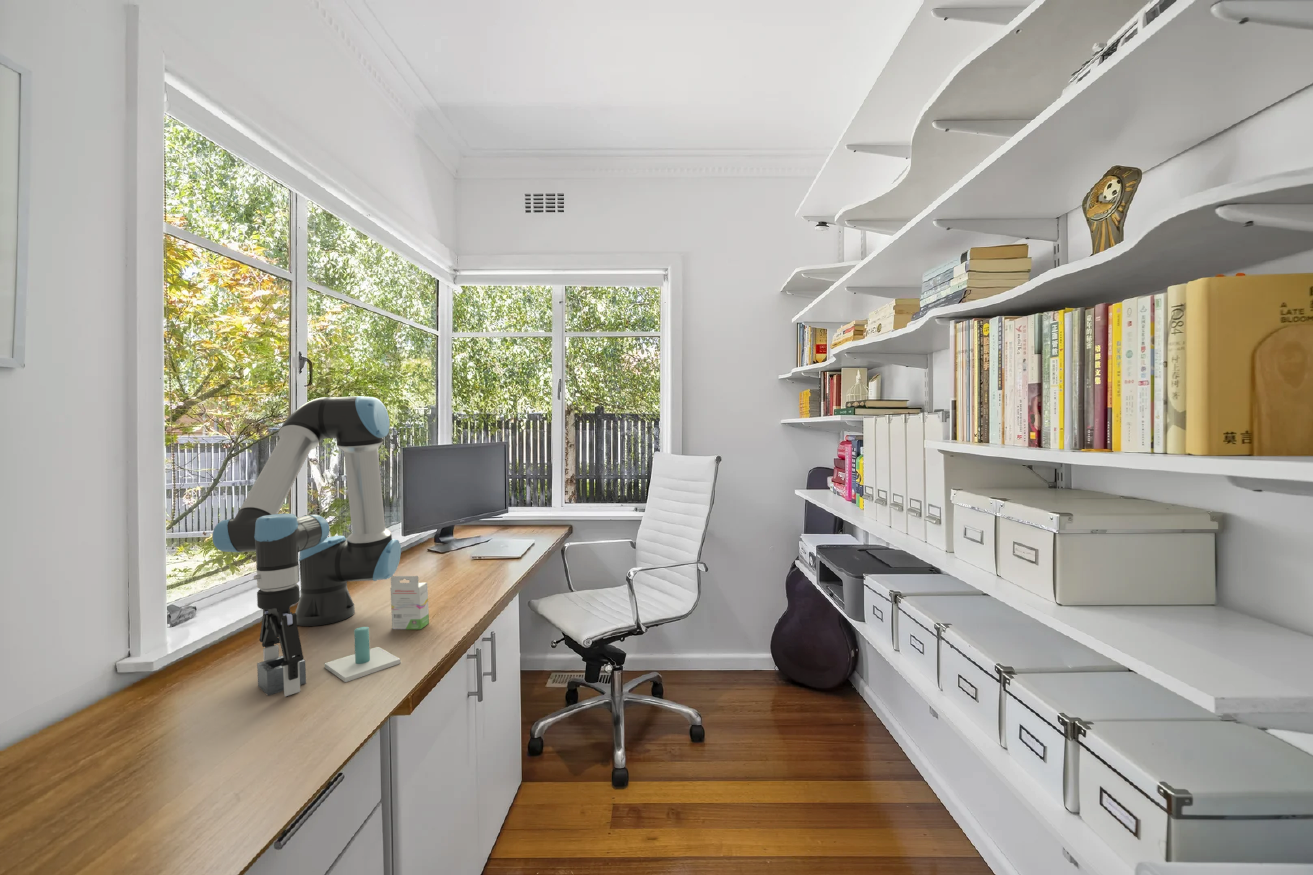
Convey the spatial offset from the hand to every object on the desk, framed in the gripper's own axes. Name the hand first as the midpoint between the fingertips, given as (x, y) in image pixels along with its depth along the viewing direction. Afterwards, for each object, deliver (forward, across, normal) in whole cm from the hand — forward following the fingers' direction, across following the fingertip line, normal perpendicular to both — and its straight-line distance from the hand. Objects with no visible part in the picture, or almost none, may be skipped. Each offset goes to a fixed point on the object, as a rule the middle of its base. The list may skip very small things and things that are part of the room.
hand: (281, 684), depth 119 cm
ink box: (0, -12, +34) cm, 36 cm away
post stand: (0, +4, +15) cm, 16 cm away
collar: (0, 0, 0) cm, 0 cm away
